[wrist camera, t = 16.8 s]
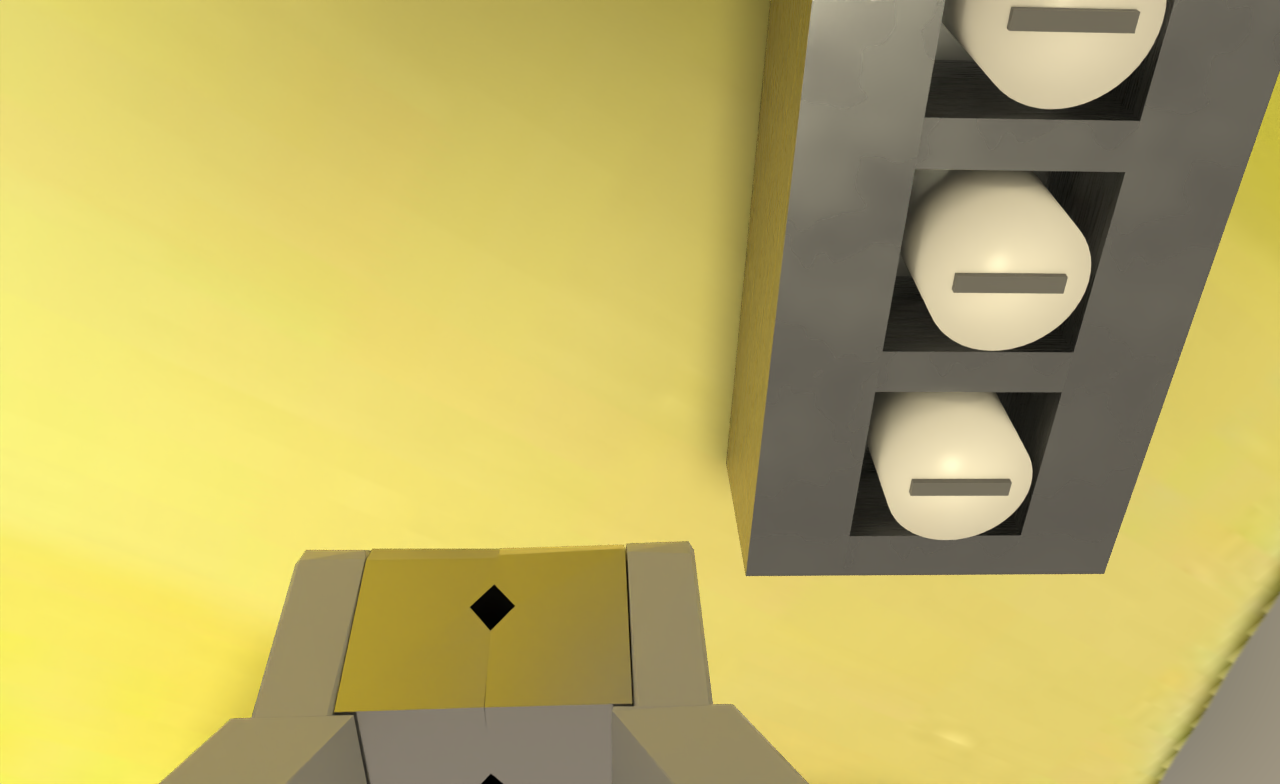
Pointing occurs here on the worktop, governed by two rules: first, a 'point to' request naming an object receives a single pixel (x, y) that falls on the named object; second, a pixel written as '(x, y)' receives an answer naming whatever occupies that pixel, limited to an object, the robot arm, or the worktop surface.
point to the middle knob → (993, 256)
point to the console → (895, 311)
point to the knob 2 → (1055, 44)
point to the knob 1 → (947, 461)
